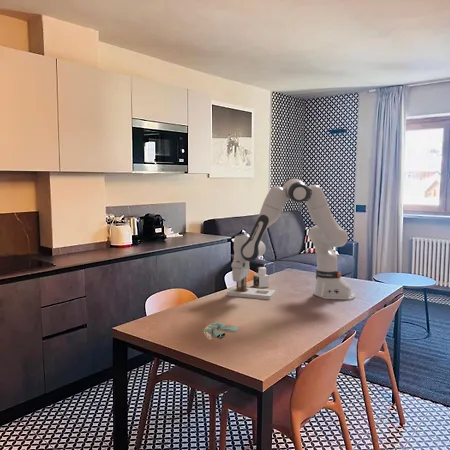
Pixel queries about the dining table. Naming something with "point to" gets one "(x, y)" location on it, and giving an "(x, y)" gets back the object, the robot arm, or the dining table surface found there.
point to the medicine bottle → (261, 278)
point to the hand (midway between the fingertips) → (241, 285)
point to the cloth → (221, 327)
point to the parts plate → (252, 293)
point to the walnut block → (243, 288)
